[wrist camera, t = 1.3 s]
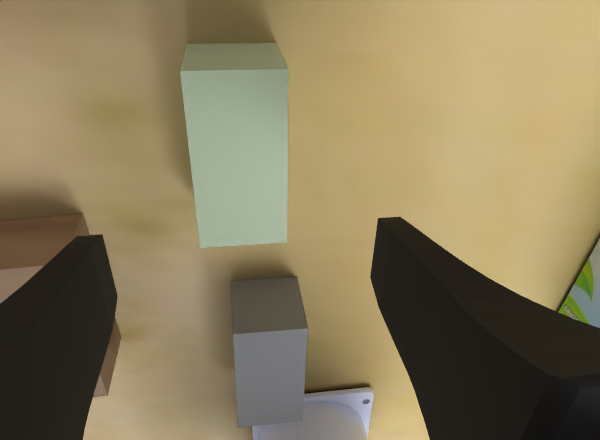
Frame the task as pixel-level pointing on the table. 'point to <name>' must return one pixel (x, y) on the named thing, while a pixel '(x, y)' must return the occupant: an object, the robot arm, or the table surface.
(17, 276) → the walnut brick
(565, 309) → the snack box
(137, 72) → the table surface
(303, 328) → the gray brick
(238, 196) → the sage brick
